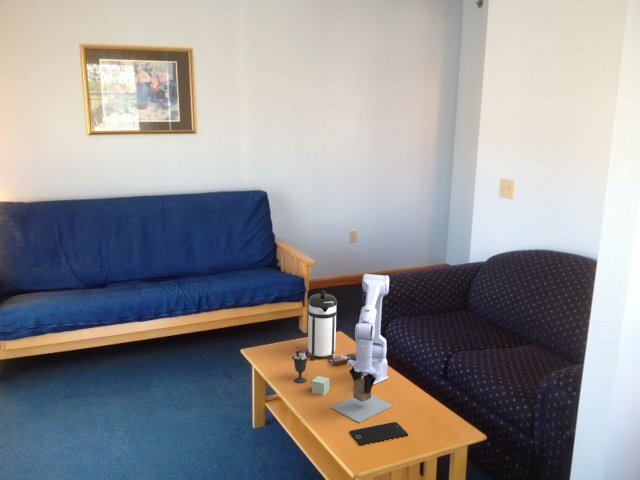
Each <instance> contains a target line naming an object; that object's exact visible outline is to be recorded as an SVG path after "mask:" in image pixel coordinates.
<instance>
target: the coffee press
mask: <svg viewBox="0 0 640 480" xmlns="http://www.w3.org/2000/svg"><path fill="white" fill-rule="evenodd" d="M307 305H308V309H307V316H308V321H307V322H308V323H307V325H308V326H307V327H308V328H307V335H308V336H307V351H308V353H309V354H310V356H309V359H310V361H314V360H315V359H316V357H322V358H323V357H330V358H331V357H336V358H337V356H336V355H337V354H336V353H335V352H336V333H337V331H336V330H337V329H336V328H337V314H338V313H337V305H338V300H337V299H336V297H335V296H334V295H332V294H329V293H326V290H324V289H321V290H320V291H319V293H316V294H313V295H311V296H310V297H309V298H308V300H307Z"/></svg>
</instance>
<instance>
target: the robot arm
mask: <svg viewBox="0 0 640 480" xmlns="http://www.w3.org/2000/svg"><path fill="white" fill-rule="evenodd" d="M361 282H362V283H361V284H362V285H361V286H362V289H363V292H365V293H366V295H365V296H366V297H365V305H364V306H362V308H361V309H360V315H359V319H358V323H356V324H355V329H354V337H355V344H356V346H355V347H356V348H355V349H356V351H355V360H353V359H349V360H347V362H346V363H347V364H346V365H347V367H351V369H349V374H350V375H351V378H352V381H353V382H354V381H355V380H358V379H360V378H361V377H363V379H364V382H365V393H366V394H368V393H370V392H371V393H372V389H373V386H374V385H376V384H379V383H380V382H383V381H385V380H387V379H389V377H390V376H388V360H387V351H388V348H387V345H388V344H387V339H386V338H385V337H383V335H381V326H382V325H381V324H382V323H381V321H382V307H383V298H384V296H385V295H388V293H389V289H390V288H389V287H390V277H389V275H383V274H382V275H381V274H369V273H364V274H363V277H362V281H361Z"/></svg>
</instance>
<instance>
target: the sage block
mask: <svg viewBox="0 0 640 480" xmlns="http://www.w3.org/2000/svg"><path fill="white" fill-rule="evenodd" d="M330 379H331V378H329V377H325V376H320V375H317V376H315V378H313V379H312V380H311V393H312V394H314V395H320V396H325V395H326V394H327V393H328V392H329V391H330V385H331V384H330Z"/></svg>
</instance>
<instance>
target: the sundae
mask: <svg viewBox="0 0 640 480" xmlns="http://www.w3.org/2000/svg"><path fill="white" fill-rule="evenodd" d="M295 348H296V349H297V350H295V352H294V354H293V355H292V357H291V359H292V360H293V361H294V362H293V363H294V369H295V371H296V372H297V373H298V377H296V378H294V380H293V381H294V383H296V384H305V383H307V379H306V378H304V377H303V373H304V372H305V371H306V368H307V362H308V359H310V356H309V351H308V350H307V351H304V350H302V349H300V348H298V346H295Z"/></svg>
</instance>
